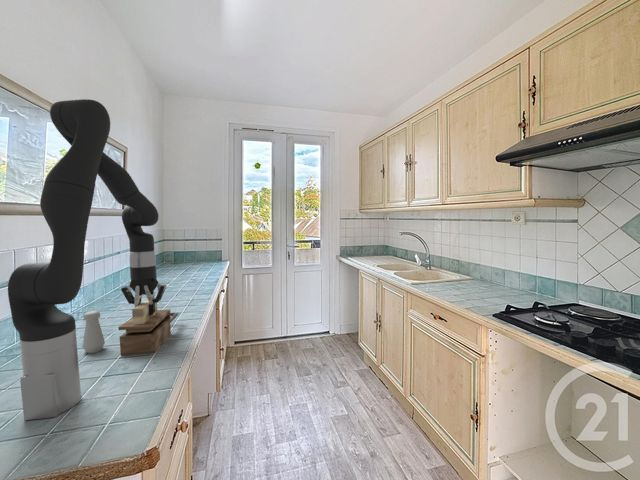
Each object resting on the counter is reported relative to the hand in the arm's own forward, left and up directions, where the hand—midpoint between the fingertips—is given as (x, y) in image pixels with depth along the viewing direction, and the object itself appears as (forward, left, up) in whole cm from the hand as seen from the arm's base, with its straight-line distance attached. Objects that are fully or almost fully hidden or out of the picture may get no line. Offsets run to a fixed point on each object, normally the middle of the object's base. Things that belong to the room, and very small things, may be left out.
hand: (145, 314), depth 99 cm
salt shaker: (-2, +15, -11) cm, 19 cm away
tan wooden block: (+5, 0, -6) cm, 8 cm away
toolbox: (0, 0, -10) cm, 10 cm away
